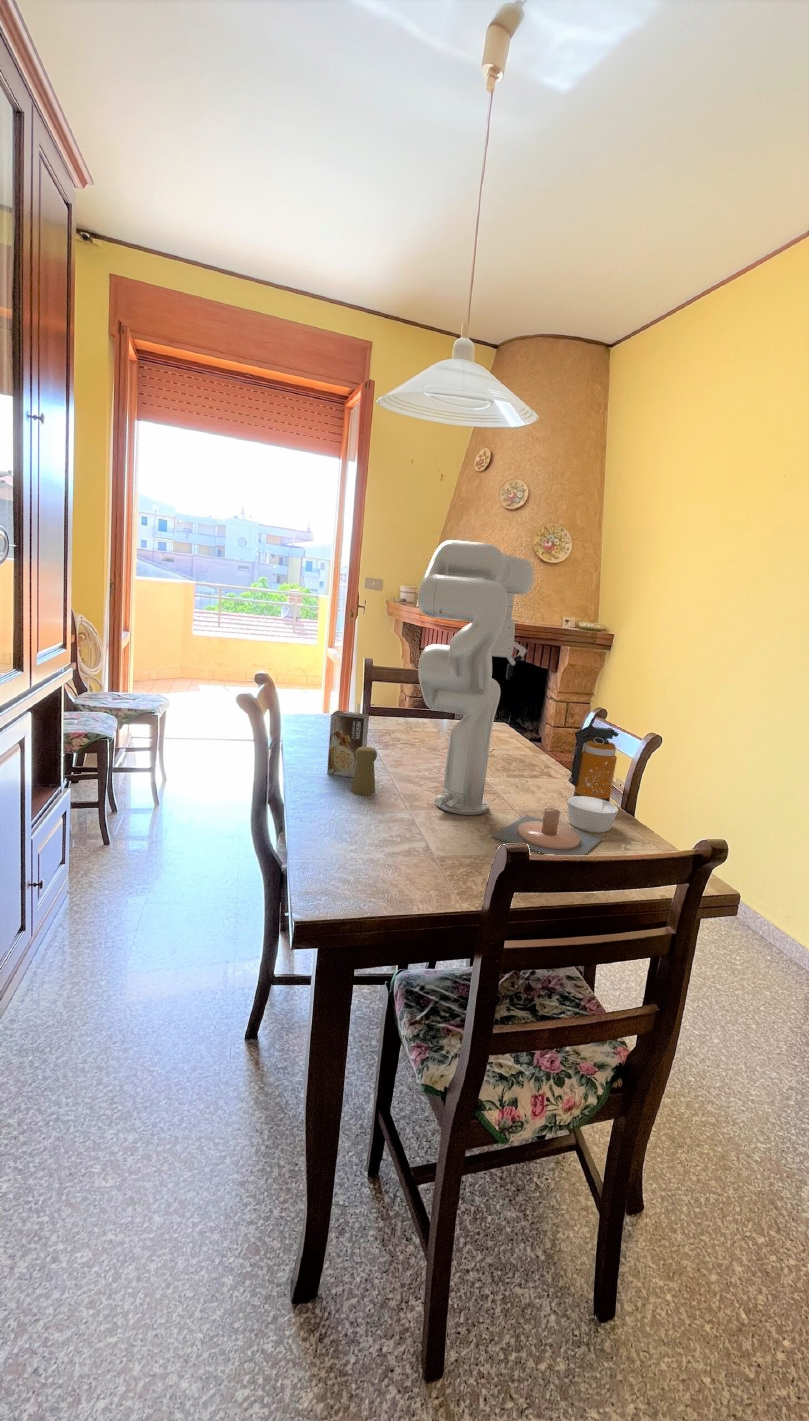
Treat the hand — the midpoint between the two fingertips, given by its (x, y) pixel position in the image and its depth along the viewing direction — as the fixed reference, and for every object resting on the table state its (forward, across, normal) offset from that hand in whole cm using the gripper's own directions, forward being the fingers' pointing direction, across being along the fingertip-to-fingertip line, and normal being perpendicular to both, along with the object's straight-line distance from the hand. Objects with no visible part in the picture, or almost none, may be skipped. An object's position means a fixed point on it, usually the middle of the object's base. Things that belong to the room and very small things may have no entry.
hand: (489, 677), depth 166 cm
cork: (+28, -28, -21) cm, 45 cm away
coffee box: (+28, -35, -8) cm, 46 cm away
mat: (+28, +14, -37) cm, 49 cm away
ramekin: (+28, +26, -25) cm, 46 cm away
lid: (+28, +14, -37) cm, 49 cm away
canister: (+29, +28, -7) cm, 41 cm away
